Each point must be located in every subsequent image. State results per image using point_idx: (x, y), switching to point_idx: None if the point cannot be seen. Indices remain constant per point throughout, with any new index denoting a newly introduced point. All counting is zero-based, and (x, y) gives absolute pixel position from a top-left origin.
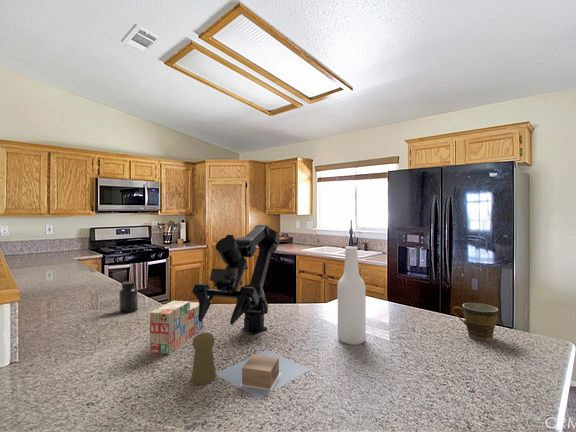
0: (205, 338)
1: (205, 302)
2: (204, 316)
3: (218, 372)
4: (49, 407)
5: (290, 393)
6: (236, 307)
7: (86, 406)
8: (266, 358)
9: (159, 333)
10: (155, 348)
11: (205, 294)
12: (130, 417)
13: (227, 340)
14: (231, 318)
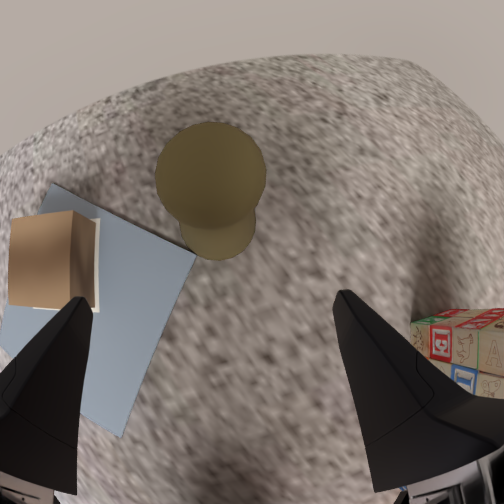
0: (179, 135)
1: (405, 431)
2: (343, 362)
3: (188, 264)
4: (419, 90)
5: (10, 233)
6: (15, 380)
7: (380, 90)
8: (30, 292)
9: (474, 318)
10: (450, 313)
11: (456, 482)
12: (282, 72)
13: (287, 471)
14: (66, 314)
